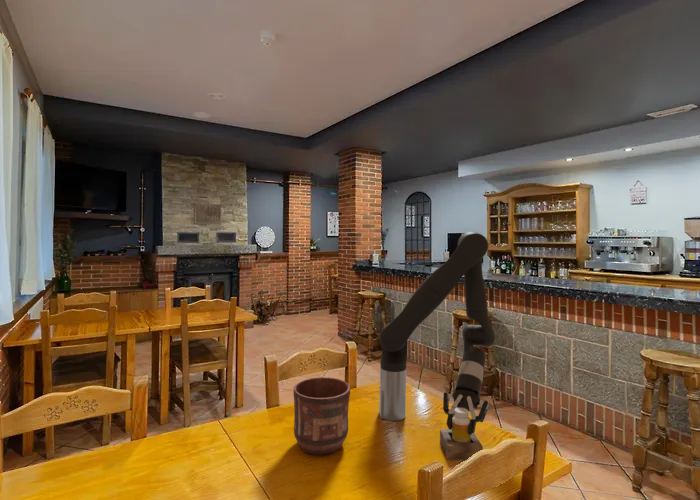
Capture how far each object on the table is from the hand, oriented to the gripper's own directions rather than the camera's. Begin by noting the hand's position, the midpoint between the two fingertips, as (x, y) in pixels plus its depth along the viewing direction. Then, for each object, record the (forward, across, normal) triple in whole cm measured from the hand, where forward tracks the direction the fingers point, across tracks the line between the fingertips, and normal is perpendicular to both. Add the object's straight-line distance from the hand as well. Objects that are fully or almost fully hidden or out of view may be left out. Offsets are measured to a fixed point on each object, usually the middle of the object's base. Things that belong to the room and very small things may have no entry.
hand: (459, 430), depth 116 cm
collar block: (+4, 0, +6) cm, 7 cm away
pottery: (+17, -38, -8) cm, 42 cm away
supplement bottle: (+2, 0, +4) cm, 5 cm away
